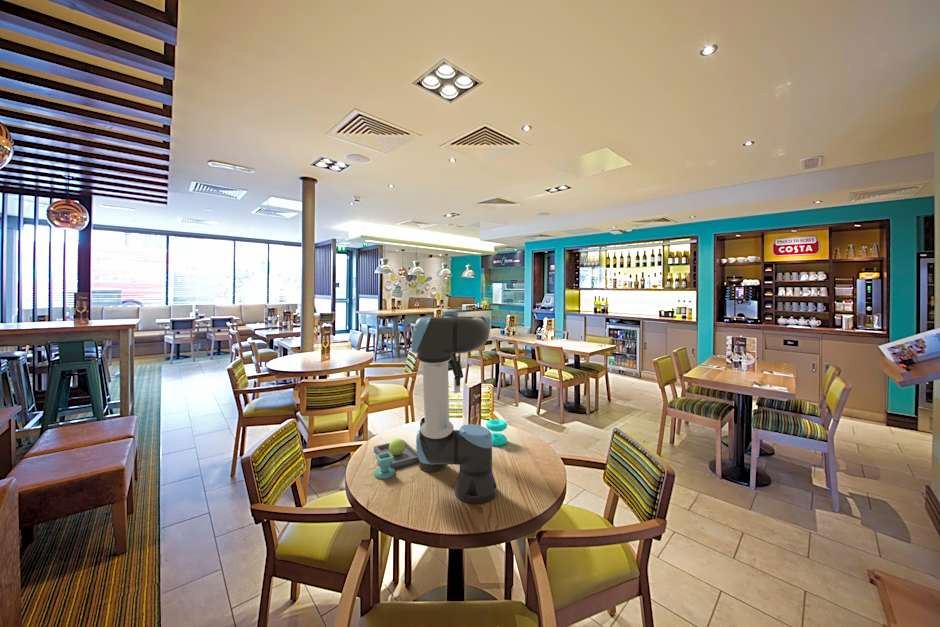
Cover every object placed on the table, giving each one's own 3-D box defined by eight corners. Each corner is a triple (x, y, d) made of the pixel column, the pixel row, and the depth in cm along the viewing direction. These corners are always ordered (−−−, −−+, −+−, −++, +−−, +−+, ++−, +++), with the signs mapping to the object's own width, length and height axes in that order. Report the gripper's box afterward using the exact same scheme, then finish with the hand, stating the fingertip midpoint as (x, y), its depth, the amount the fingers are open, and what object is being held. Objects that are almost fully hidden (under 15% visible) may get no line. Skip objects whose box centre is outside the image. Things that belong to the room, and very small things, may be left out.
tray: (421, 461, 155) (421, 455, 155) (390, 469, 148) (390, 464, 147) (403, 444, 172) (403, 439, 172) (373, 451, 164) (373, 446, 164)
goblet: (398, 475, 143) (398, 457, 143) (378, 481, 139) (378, 462, 138) (390, 467, 150) (390, 450, 149) (371, 472, 145) (371, 454, 145)
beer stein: (412, 467, 149) (414, 420, 148) (427, 457, 159) (429, 412, 157) (444, 479, 142) (447, 430, 141) (457, 467, 152) (460, 421, 150)
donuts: (498, 427, 168) (481, 422, 175) (498, 448, 169) (481, 442, 175) (511, 421, 176) (494, 417, 182) (510, 442, 176) (494, 436, 183)
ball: (407, 455, 159) (407, 440, 158) (392, 459, 155) (392, 443, 154) (401, 449, 165) (401, 434, 164) (386, 453, 161) (386, 437, 160)
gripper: (471, 346, 161) (470, 394, 162) (443, 340, 181) (443, 382, 183) (456, 348, 157) (456, 396, 158) (430, 341, 177) (430, 384, 179)
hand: (449, 389), depth 170 cm, fingers open, 13 cm apart
